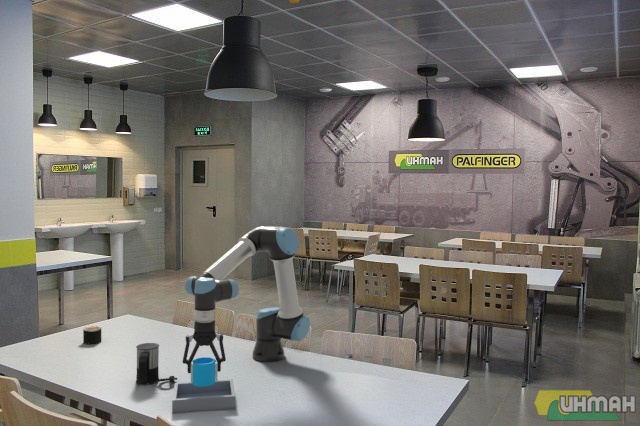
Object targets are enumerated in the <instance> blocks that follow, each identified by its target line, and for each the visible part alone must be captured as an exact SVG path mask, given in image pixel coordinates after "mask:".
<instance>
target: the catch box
mask: <svg viewBox="0 0 640 426" xmlns="http://www.w3.org/2000/svg"><path fill="white" fill-rule="evenodd" d="M172 392H173V393H172V398H171V399H172V400H171V408H172V409H171V414H172V415H173V414H175V415H176V414H186V413H201V412H212V411H213V412H216V411H226V410H227V411H230V410H236V391H235V384H234V379H219V380H218V379H217V381H215V383H214V384H213V385H210V386H204V387H199V386H195V385H193V383H191V381H189V382H187V381H184V382H174V387H173V391H172Z"/></svg>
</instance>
